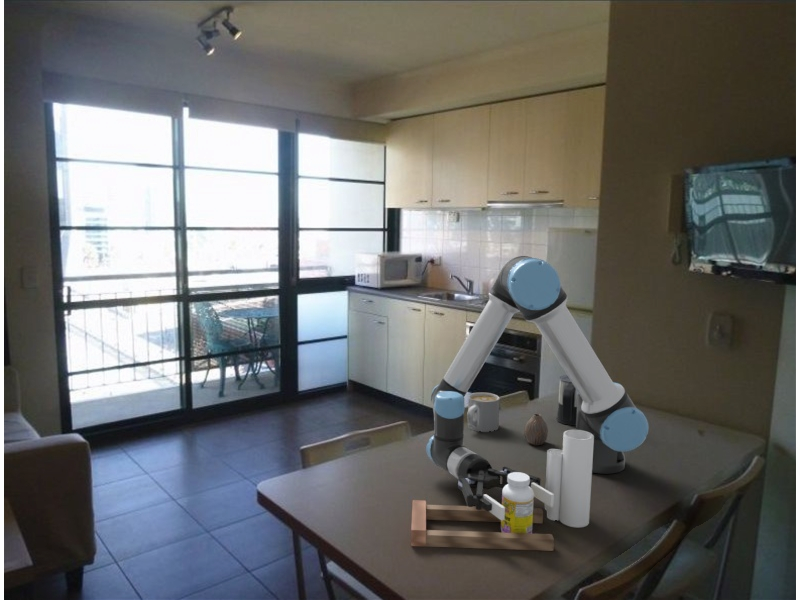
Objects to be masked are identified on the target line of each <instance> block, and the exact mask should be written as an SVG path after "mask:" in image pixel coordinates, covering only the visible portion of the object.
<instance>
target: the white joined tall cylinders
mask: <svg viewBox="0 0 800 600" xmlns="http://www.w3.org/2000/svg"><path fill="white" fill-rule="evenodd" d="M562 435H563V436H562V438H563V439H562V448H561V449H560V448H549V449H547V450H546V465H545V466H546V469H545V470H546V472H545V487H544V488H545V489H546V490H548V491H549V492H551V493H553V494H554V503H553V506H552V507H550V506H548V505H547V504H545V503H544V509H545V511H546V518H547V519H548V520H550V521H554V522H555V520H557V521H559V522H560V523H562V524H563V525H565V526H567V527H570V528H584V527H587V526H588V525H589V524H590V511H591V510H590V508H591V494H592V493H591V492H592V475H593V472H592V462H593V445H594V435H593V434H592V433H590V432H587V431H583V430H576V429H568V430H565V431H563V433H562Z"/></svg>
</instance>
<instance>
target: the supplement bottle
mask: <svg viewBox="0 0 800 600" xmlns="http://www.w3.org/2000/svg"><path fill="white" fill-rule="evenodd" d="M528 475H529V474H528ZM528 475H527V473H524V472H522V471H521V472H520V471H518V472H513V473H509V474H508V476H507V482H508V484H507V485H505V486H504V488H503V489H502V490H501V491H502V492H501V494H502V495H501V505H502V506H504V507H505V520H502V521H501V522H500V530H501V532H502V533H532V534H533V525H534V523H533V508H534V503H535V502H534V498H535V497H534V492H533V490H532V488H531V487H529V484H530V477H529V476H528Z"/></svg>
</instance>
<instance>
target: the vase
mask: <svg viewBox="0 0 800 600" xmlns="http://www.w3.org/2000/svg"><path fill="white" fill-rule="evenodd" d="M548 435H549V429H548V424H547V422H546V421H545V420H544V419H543V416H542V414H539V413H534V414H532V416H531V417H530V419H528V421H527V422H526V424H525V427H524V436H525V439H526V441H527V442H528V443H529V444H531V445H533V446H540V445H543V444H545V442H546V441H547V439H548V437H549V436H548Z"/></svg>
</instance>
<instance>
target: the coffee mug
mask: <svg viewBox="0 0 800 600" xmlns="http://www.w3.org/2000/svg"><path fill="white" fill-rule="evenodd" d="M467 398H468V399H467V400H468V401H467V404H468V405H467V408H468V409H467V414H466V420H467V427H468V428H469V429H470V430H472V431H475V432H479V431H481V432H482V433H489V431H491V432H495V431H497V430H499V427H500V426H499V423H500V422H499V421H500V420H499V418H500V416H499V415H500V396H499V395H497V394H494V393H491V392H473V393H470V394H469V395H468V397H467ZM494 430H495V431H494Z"/></svg>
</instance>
